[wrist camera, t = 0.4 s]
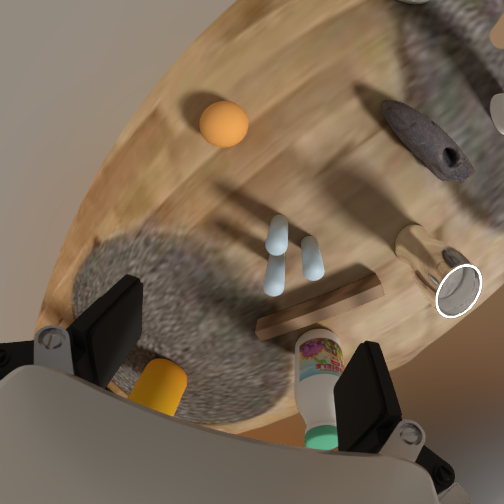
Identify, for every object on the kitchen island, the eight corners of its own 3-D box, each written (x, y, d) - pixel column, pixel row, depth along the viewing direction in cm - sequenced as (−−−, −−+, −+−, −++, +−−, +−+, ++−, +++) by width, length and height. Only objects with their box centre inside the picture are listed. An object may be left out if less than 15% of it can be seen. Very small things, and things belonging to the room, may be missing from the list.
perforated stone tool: (366, 117, 32) (382, 112, 26) (386, 90, 30) (405, 81, 24) (439, 188, 34) (463, 198, 27) (457, 163, 32) (483, 168, 25)
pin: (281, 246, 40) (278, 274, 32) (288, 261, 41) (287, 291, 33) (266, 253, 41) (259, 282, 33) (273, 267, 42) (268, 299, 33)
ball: (238, 96, 33) (229, 88, 28) (259, 134, 35) (253, 132, 29) (199, 117, 35) (184, 114, 29) (219, 154, 37) (207, 157, 31)
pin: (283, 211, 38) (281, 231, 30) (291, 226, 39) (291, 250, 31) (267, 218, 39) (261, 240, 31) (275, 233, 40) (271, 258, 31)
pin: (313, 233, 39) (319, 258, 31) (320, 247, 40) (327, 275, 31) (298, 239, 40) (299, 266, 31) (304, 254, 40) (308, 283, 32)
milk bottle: (329, 364, 47) (338, 458, 29) (289, 356, 47) (283, 453, 29) (346, 331, 44) (366, 430, 26) (303, 322, 44) (304, 425, 26)
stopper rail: (375, 273, 40) (381, 283, 37) (378, 283, 40) (384, 295, 37) (257, 319, 45) (254, 332, 42) (262, 328, 46) (260, 341, 43)
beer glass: (388, 264, 39) (426, 321, 25) (395, 219, 36) (443, 261, 23) (426, 265, 38) (472, 318, 24) (434, 222, 36) (490, 262, 22)
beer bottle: (167, 351, 51) (101, 474, 24) (197, 381, 53) (151, 503, 26) (139, 363, 54) (77, 469, 27) (168, 391, 56) (120, 497, 29)
